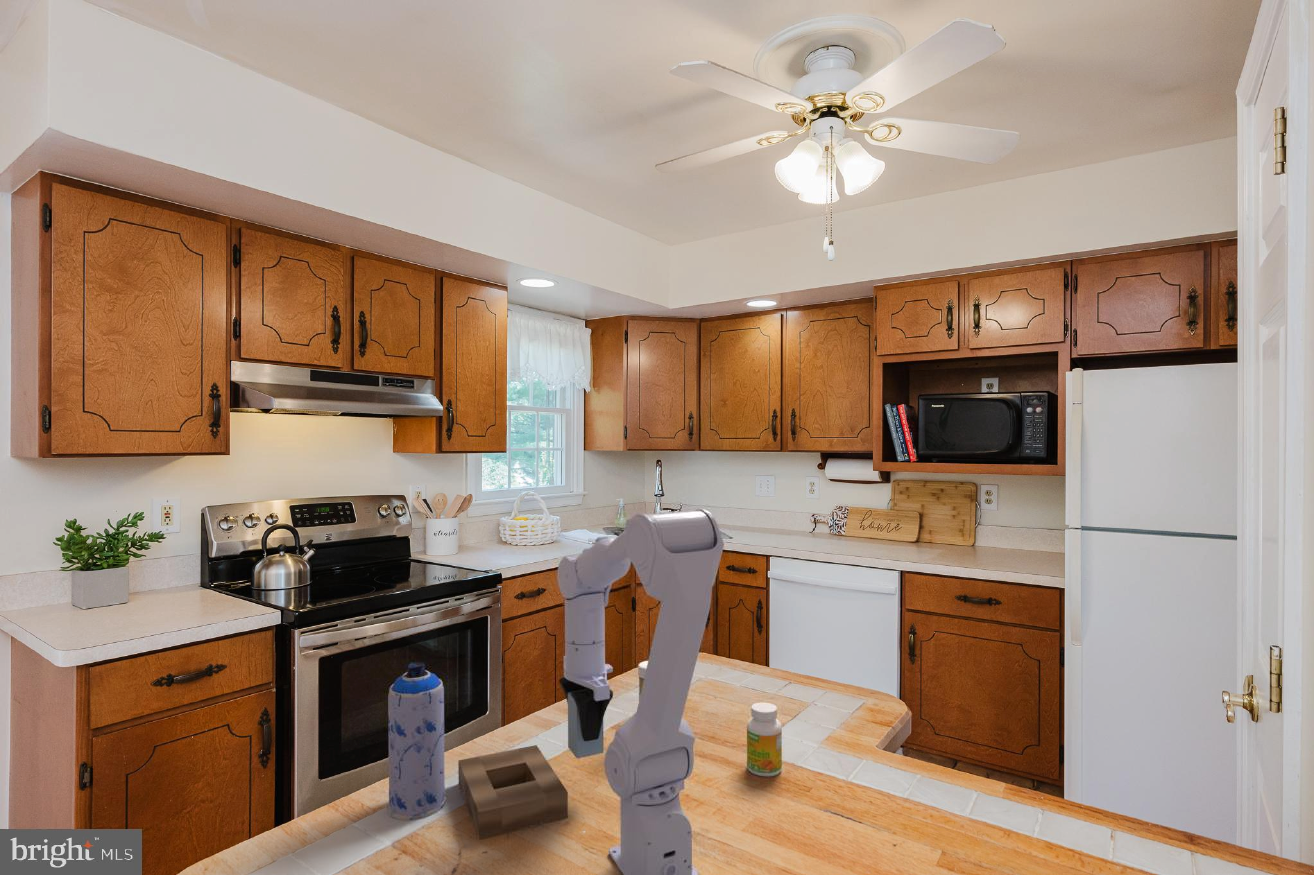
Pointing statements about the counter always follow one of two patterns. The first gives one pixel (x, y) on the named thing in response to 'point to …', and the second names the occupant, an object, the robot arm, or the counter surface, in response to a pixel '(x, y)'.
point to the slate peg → (575, 734)
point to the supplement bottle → (764, 740)
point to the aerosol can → (416, 744)
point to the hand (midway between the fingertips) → (585, 733)
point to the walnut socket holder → (511, 791)
